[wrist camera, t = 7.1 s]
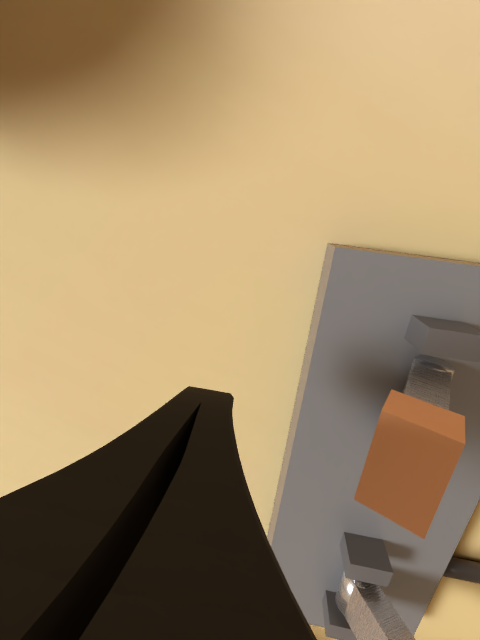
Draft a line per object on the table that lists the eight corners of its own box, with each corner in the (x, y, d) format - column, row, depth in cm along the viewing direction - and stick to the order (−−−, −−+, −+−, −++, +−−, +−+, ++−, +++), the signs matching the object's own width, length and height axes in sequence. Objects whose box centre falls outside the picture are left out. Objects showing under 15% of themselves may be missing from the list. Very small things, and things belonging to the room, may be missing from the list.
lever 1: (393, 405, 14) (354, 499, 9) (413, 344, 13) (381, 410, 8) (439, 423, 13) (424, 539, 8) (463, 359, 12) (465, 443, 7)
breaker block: (259, 576, 21) (255, 646, 17) (327, 243, 14) (343, 251, 10) (506, 630, 20) (553, 716, 16) (719, 294, 13) (881, 322, 9)
